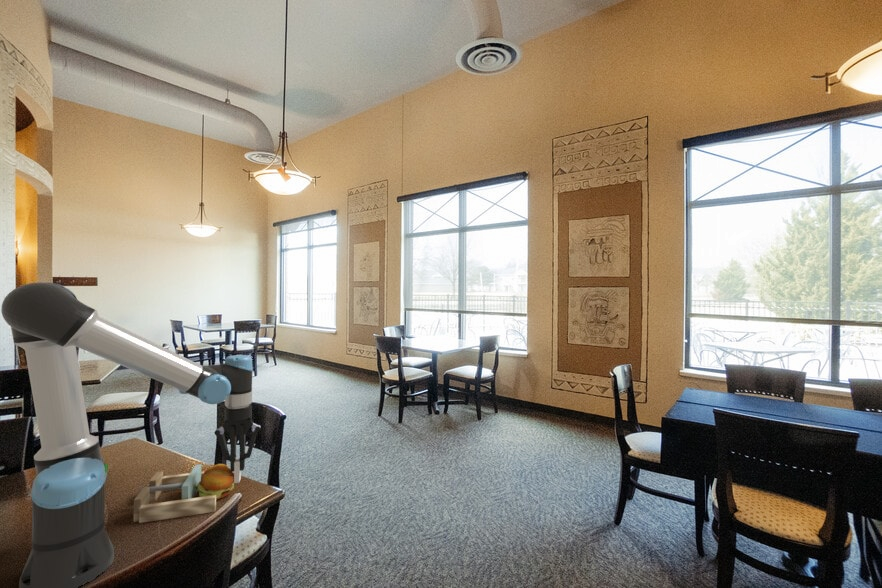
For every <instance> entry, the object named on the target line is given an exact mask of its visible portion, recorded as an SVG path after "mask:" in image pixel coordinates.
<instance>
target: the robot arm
mask: <svg viewBox="0 0 882 588" xmlns="http://www.w3.org/2000/svg"><path fill="white" fill-rule="evenodd" d="M0 309H1V310H0V311H1V315H2V318H3V320H4V321H5V322H6V324H7V325H8V326H10V330H11V335H12V339H13V344H14V345H15V346H17V347H20V348H22V349H23V350H24V352H25V357H26V358H25V359H26V365H27V370H28V371H27V372H28V376H29V382H30V387H31V393H32V399H33V404H34V411H35V416H36V417H35V418H36V423H37V427H38V434H39V435H38V436H39V439H40V446H41V447H40V449H39V450H38V451H37V452H36V453H35V454H34V455H33V461H34V466H35V472H36V477H35V478H34V479H33V482H32V487H31V490H30V497H31V499H32V500H31V501H32V502H31V505H32V509H31V510H32V512H31V517H32V519H31V551H30V553H29V556H28V558H27V561H26V563H25V566H24V568H23V570H22V573H21V575H20V578H19V581H18V583H19V584H18V588H77V587H79V586H81V585H83V584H84V583H86V582H89V583H90V582H92V581H94V580H96V579H97V578H96V576H98V575H99V574H101V573H102V572H104V571H105V570H106V569H107V568H108V567H109V566H110V565H112V564H113V562H114V559H115V548H114V545H113V542H112V541H111V539H110V537H109V534H108V532H107V531H106V528H105V510H106V509H105V507H106V506H105V501H106V500H105V497H106V496H105V492H106V489H105V488H106V480H107V476H106V471H105V467H104V463H105V462H104V457H103V456H102V453H101V446H100V440H99V438H98V437H97V436H95V435H92V434H90V428H89V422H88V415H87V410H86V403H85V398H84V397H85V396H84V390H83V385H82V378H81V377H82V376H81V372H80V366H79V359H78V352H77V348H79V349H81V350H84V351H85V352H88V353H90V354H93V355H96V356H98V357H101V358H103V359H104V360H108V361H110V362H112V363H115V364H116V365H117V364H118V365H120V366H122V367H124V368H127V369H129V370H132V371H133V372H136V373H138V374H141V375H143V376H145V377H148V378H151V379H153V380H156V381H158V382H160V383H163V384H165V385H167V386H170V387H172V388H174V389H176V390H178V391H179V393H180V394H182V395H190V396H193V397H194V398H195V397H196V398H198V399H199V400H200V401H201V402H203V403H206V404H208V405H218V404H221V403H223V402H224V406H225V408H224V422H223V424H222V426H220V427H218V428H216V429H215V430H214V434H215V436H216V438H217V439H218V443H219V447H220V450H221V454H222V458H223V461H229V462H230V465H229V466H230V467H229V468H230V471H231V472H233V474H234V483H233V484H239V483H240V482H241V478H242V471H244V470H245V465H246V464H245V463H246V459H250V458H251V455H252V452H253V450H254V449H253V448H254V445H255V441H256V438H257V435H258V433H259V431H260V430H261V427H262V425H261V424H257V423H254V420H253V418H252V417H253V414H252V413H253V410H252V409H253V405H252V403H253V371H254V369H253V359H252V357H251V356H250V355H248V354H238V355H237V354H236V355H234V354H233V355H230V356H226V358H225V360H224V363H223V362H222V363H219V364H210V365H209V364H208V365H202V364H199V363H197V362H195V361H193V360H191V359H189V358H187V357H184V356H182V355H180V354H179V353H176V352H174V351H172V350H170V349H168V348H166V347H164V346H162V345H160V344H157V343H155V342H153V341H151V340H148V339H147V338H146V337H145V338H144V337H143V336H140V335H138V334H136V333H134V332H132V331H130V330H128V329H126V328H124V327H121V326H119V325H118V324H115V323H114V322H111V321H109V320H107V319H104V318H102V317H100V316H99V313H98V310H97V309H95V308H92V307H91V306H88V305H86V303H83V302H82V301H80V300H78V298H77V296H76V294H74V291H72V290H70V288H67V287H66V286H64V285H61V284H59V283H55V282H43V281H42V282H39V281H38V282H30V283H25V284H22V285H21V286H17V287H16V288H13V290H11V291H10V292H9V293H8V294H6V296H5V297H4V299H3V301H2V303H1V308H0ZM250 429H251V432H252V434H251V436H250V437H251V438H250V440H249V444H248V448H247V452H246V435H247V433H248V431H250ZM225 432H226V433H227V435H228V436H229V437H230V439H229V441H230V450H229V447H228V444H227V441H226V440H227V439H226V436H225V434H224V433H225ZM237 436H239V458H237ZM229 451H230V452H229ZM105 479H106V480H105ZM110 567H111V566H110ZM110 567H109V568H110ZM109 568H108V569H109ZM108 569H107V570H108ZM107 570H106V571H107ZM106 571H105V572H106ZM105 572H104V573H105ZM101 575H102V574H101ZM95 578H96V579H95ZM83 586H84V585H83ZM81 587H82V586H81ZM79 588H80V587H79Z"/></svg>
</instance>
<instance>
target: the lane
mask: <svg viewBox="0 0 882 588" xmlns="http://www.w3.org/2000/svg"><path fill="white" fill-rule="evenodd" d="M205 471H206V470H205ZM205 471H201V476H202V475H203V473H204V472H205ZM190 473H191V472H186V473H179V474H171V475H164V471H162V470H160V471H156V473H155V474H154V475H153V476H152V477H151V478H150V480H149V484H148V485H149V486H148V487H154V486H162V485H170V484H178V483H184V482H185V481H186V479H187V478H188V476H189V474H190ZM145 488H146V487H145ZM180 489H181V490H182V488H178V489H177V490H180ZM173 490H176V489H171V490H170V491H173ZM165 491H167V492H168V490H163V491H155V492H150V488H146V489H143V490H142V491H141V492H140V491H139V493H138V494H137V496H136V497H135V498H134V499H133V523H135V522H138V523H139V524H143V523H148V522H155V521H162V520H169V519H175V518H183V517H189V516H195V515H202V514H207V513H208V514H210V513H214V512H216V510H217V500H216V495H212V496H205V497H198V496H197V497H195V498H191V499H183V500H182V499H177V500H169V501H163V502H155V503H150V502H154V501H157V499H158V498H159V496H160V495H161V493H162V492H165Z"/></svg>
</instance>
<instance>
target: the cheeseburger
mask: <svg viewBox="0 0 882 588" xmlns="http://www.w3.org/2000/svg"><path fill="white" fill-rule="evenodd" d="M234 485H235V483H234V472H231V471H230V467H229V466H228V465H226V464H224V463H217V464H215V465H212V466H211V467H209V468H207V469H205V472H204V473H203V475H202V476H201V481H200V482H199V483H198V484H197V486H196V489H197V494H196V496H197V498H198V497H205V496H212V495H216V501H218V500H220V499H223V498H224V497H227V496H228V495H229V494H231V491H232V490H233V489H234V488H235V486H234Z"/></svg>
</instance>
